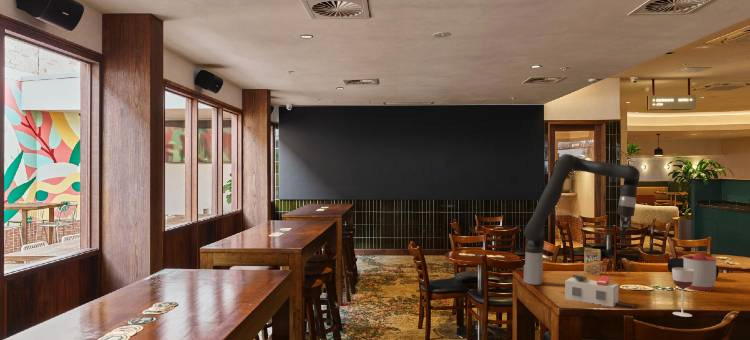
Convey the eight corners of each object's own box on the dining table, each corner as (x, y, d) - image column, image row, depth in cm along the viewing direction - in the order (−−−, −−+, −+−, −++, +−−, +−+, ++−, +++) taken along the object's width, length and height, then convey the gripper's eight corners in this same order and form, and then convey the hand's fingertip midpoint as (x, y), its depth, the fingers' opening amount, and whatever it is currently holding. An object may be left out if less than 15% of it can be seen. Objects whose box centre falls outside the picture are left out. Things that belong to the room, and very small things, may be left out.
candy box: (583, 273, 319) (584, 248, 319) (585, 272, 323) (585, 247, 323) (599, 275, 315) (599, 250, 315) (600, 274, 318) (600, 249, 318)
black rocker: (572, 278, 253) (573, 274, 253) (578, 280, 260) (578, 276, 260) (581, 280, 250) (581, 275, 251) (586, 281, 257) (586, 277, 258)
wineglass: (667, 311, 234) (668, 267, 234) (685, 311, 235) (686, 267, 235) (678, 316, 226) (679, 270, 226) (697, 316, 227) (698, 270, 227)
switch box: (564, 299, 255) (564, 280, 254) (571, 295, 263) (571, 277, 263) (631, 310, 236) (632, 290, 236) (636, 305, 245) (636, 286, 245)
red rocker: (596, 286, 247) (596, 282, 246) (601, 278, 254) (601, 274, 253) (605, 287, 244) (605, 283, 244) (610, 280, 251) (610, 275, 251)
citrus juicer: (714, 287, 287) (715, 251, 287) (718, 293, 272) (718, 255, 272) (681, 283, 294) (682, 248, 294) (683, 289, 279) (683, 252, 279)
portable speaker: (666, 273, 324) (666, 257, 324) (674, 272, 329) (674, 256, 329) (711, 281, 303) (711, 264, 303) (719, 279, 308) (719, 263, 308)
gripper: (617, 205, 269) (613, 236, 268) (619, 204, 256) (614, 236, 255) (633, 207, 266) (629, 239, 266) (636, 206, 253) (631, 239, 252)
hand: (622, 238), depth 260 cm, fingers open, 8 cm apart
